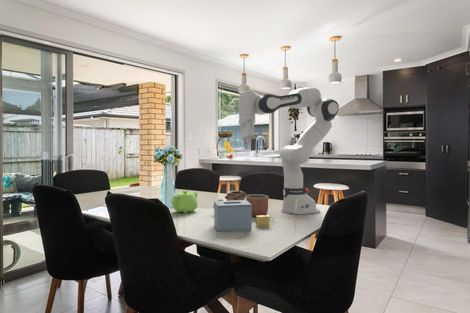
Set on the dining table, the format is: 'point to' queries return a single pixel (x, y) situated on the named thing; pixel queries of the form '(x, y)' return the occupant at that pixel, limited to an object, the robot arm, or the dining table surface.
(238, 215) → the moneybox
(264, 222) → the block
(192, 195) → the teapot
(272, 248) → the dining table surface
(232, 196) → the decorative box
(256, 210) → the planter
